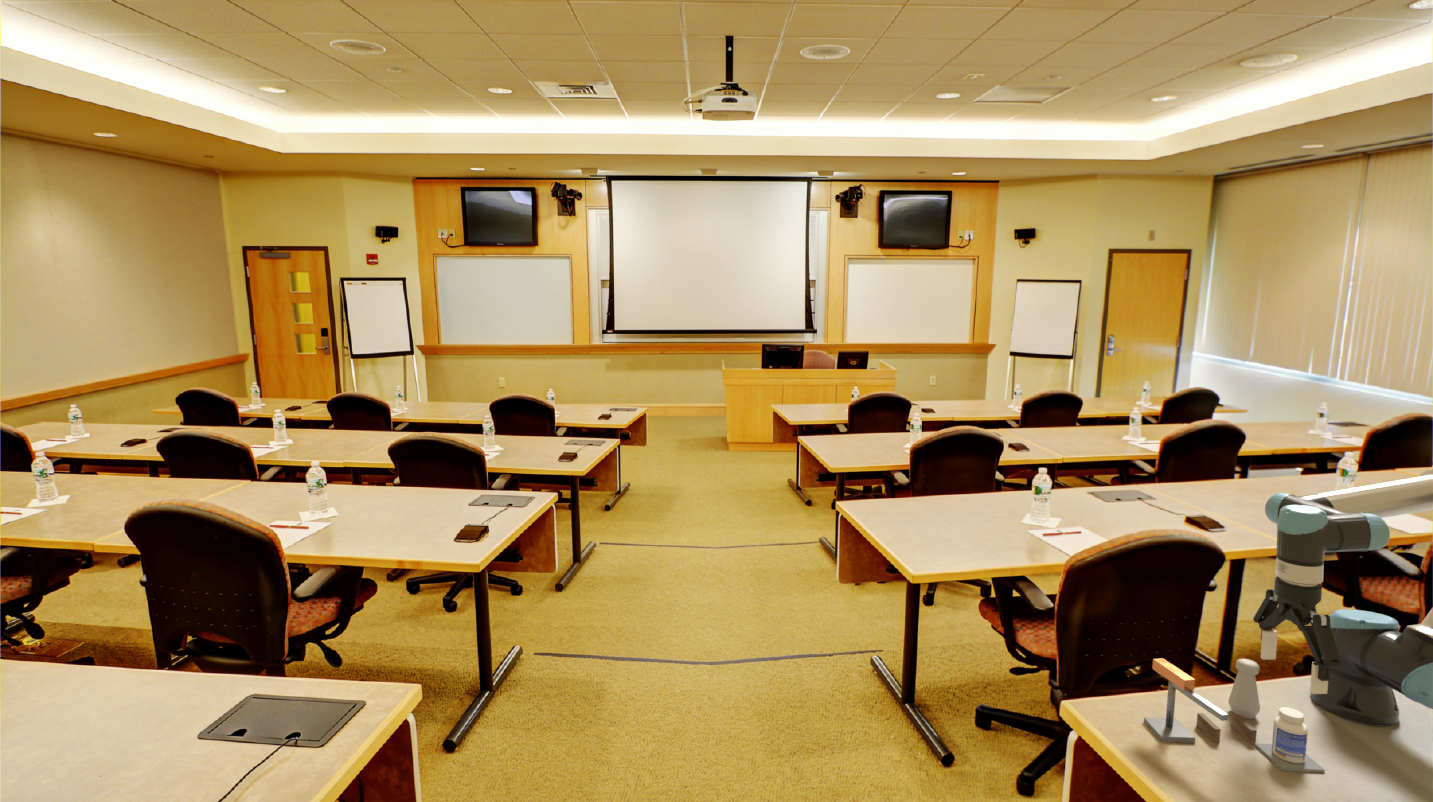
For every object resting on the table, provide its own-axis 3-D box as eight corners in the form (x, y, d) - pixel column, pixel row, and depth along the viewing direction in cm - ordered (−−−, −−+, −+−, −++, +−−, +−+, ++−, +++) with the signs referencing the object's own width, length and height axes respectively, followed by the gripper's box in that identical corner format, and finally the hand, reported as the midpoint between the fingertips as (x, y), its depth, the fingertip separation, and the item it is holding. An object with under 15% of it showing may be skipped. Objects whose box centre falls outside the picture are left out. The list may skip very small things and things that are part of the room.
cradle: (1236, 726, 152) (1237, 713, 152) (1255, 743, 146) (1256, 730, 146) (1196, 724, 153) (1197, 712, 153) (1213, 741, 147) (1214, 728, 147)
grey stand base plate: (1175, 723, 154) (1176, 718, 154) (1194, 742, 147) (1195, 737, 147) (1143, 722, 154) (1144, 717, 154) (1161, 741, 148) (1161, 736, 147)
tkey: (1226, 765, 137) (1231, 703, 136) (1215, 766, 137) (1220, 704, 135) (1158, 713, 155) (1162, 658, 153) (1149, 714, 155) (1153, 658, 153)
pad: (1294, 747, 145) (1294, 744, 145) (1324, 772, 137) (1324, 769, 137) (1254, 745, 146) (1255, 743, 145) (1282, 770, 138) (1283, 768, 138)
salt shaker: (1257, 711, 158) (1262, 659, 156) (1260, 724, 153) (1266, 670, 151) (1226, 703, 161) (1231, 652, 159) (1228, 716, 156) (1233, 663, 154)
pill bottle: (1311, 765, 138) (1315, 721, 137) (1281, 762, 139) (1285, 718, 138) (1294, 748, 143) (1298, 706, 142) (1265, 746, 144) (1269, 703, 143)
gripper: (1237, 558, 153) (1232, 646, 156) (1329, 606, 129) (1322, 709, 131) (1271, 557, 153) (1266, 645, 156) (1371, 605, 128) (1363, 708, 131)
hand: (1292, 674), depth 144 cm, fingers open, 13 cm apart
